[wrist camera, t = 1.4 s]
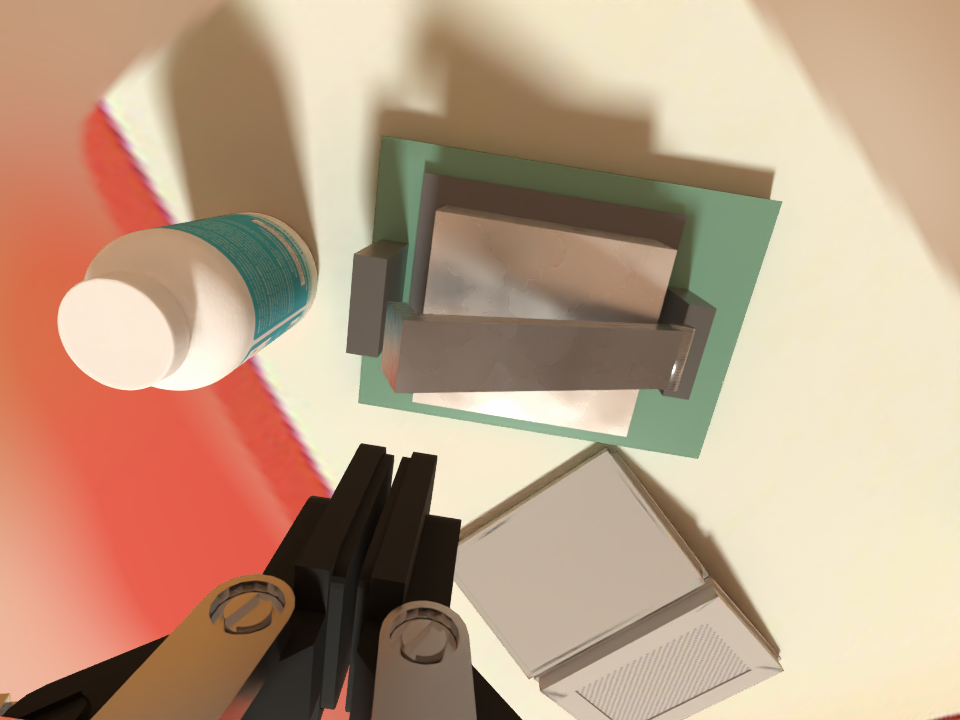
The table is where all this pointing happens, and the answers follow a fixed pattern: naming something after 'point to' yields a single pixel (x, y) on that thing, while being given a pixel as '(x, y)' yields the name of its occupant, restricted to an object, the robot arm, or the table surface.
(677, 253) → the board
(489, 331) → the strap
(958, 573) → the table surface
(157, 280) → the pill bottle
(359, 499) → the robot arm
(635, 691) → the gadget
